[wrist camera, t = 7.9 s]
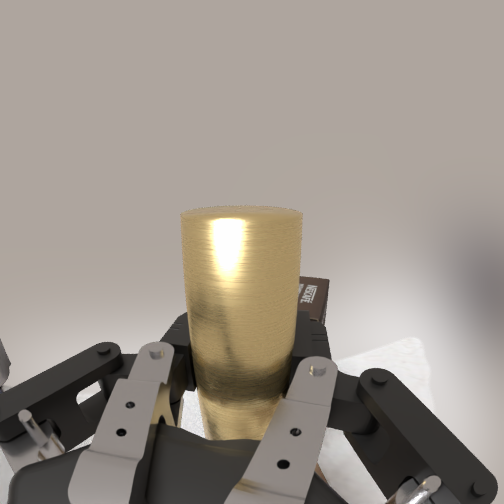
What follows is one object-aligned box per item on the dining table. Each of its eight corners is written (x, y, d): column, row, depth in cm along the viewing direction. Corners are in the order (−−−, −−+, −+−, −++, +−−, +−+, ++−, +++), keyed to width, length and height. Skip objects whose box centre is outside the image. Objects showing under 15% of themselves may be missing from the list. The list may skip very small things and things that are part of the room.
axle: (212, 466, 14) (182, 207, 10) (266, 459, 15) (280, 204, 10) (221, 510, 11) (177, 224, 6) (281, 500, 11) (323, 220, 7)
